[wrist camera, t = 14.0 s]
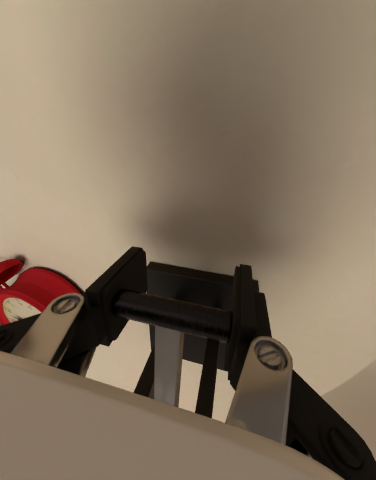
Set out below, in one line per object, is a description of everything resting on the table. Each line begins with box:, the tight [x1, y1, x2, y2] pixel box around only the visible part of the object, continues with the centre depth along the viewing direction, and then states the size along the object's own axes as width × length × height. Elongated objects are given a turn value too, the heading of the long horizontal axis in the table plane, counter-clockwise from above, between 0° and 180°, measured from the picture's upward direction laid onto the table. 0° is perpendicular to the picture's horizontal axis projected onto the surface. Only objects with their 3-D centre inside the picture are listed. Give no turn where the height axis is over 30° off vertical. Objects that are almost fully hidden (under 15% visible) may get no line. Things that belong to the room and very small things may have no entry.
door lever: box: [111, 289, 233, 407], centre depth 10 cm, size 12×5×2 cm, turn 177°
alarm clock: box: [0, 259, 81, 325], centre depth 23 cm, size 10×6×15 cm
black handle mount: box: [134, 262, 259, 418], centre depth 15 cm, size 12×10×12 cm
